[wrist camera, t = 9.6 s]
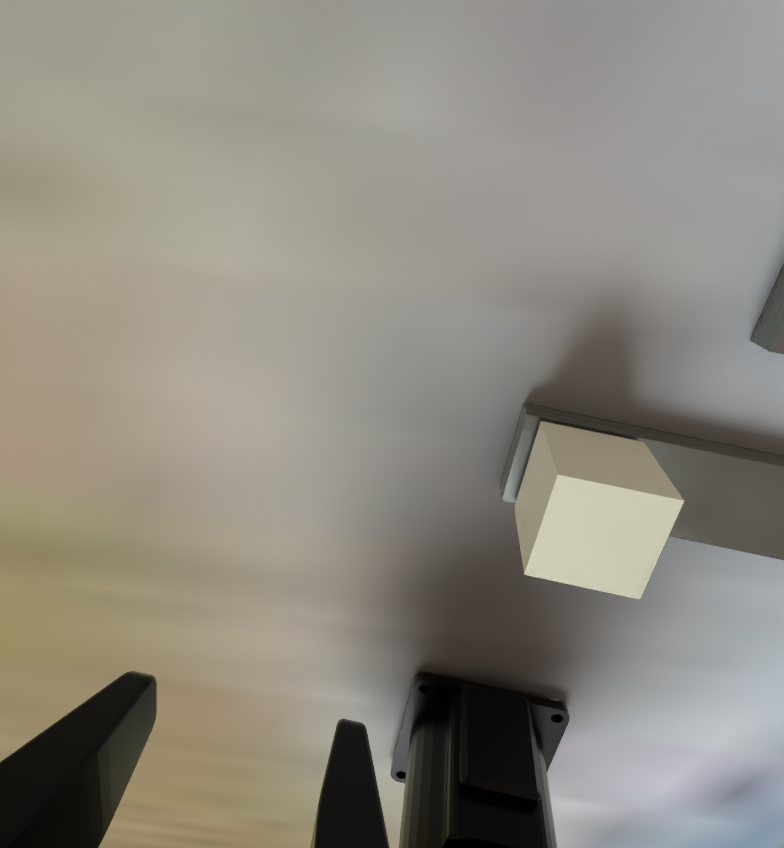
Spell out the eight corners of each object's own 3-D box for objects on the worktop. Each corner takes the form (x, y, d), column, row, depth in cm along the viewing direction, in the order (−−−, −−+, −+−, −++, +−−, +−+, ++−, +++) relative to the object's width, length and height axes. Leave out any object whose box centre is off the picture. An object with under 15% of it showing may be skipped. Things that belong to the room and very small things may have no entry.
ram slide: (609, 528, 19) (639, 599, 15) (513, 507, 19) (524, 574, 16) (643, 442, 17) (684, 500, 14) (541, 420, 18) (557, 474, 14)
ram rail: (901, 570, 19) (973, 634, 17) (499, 486, 20) (505, 534, 17) (955, 491, 18) (1041, 546, 15) (523, 403, 19) (534, 441, 16)
